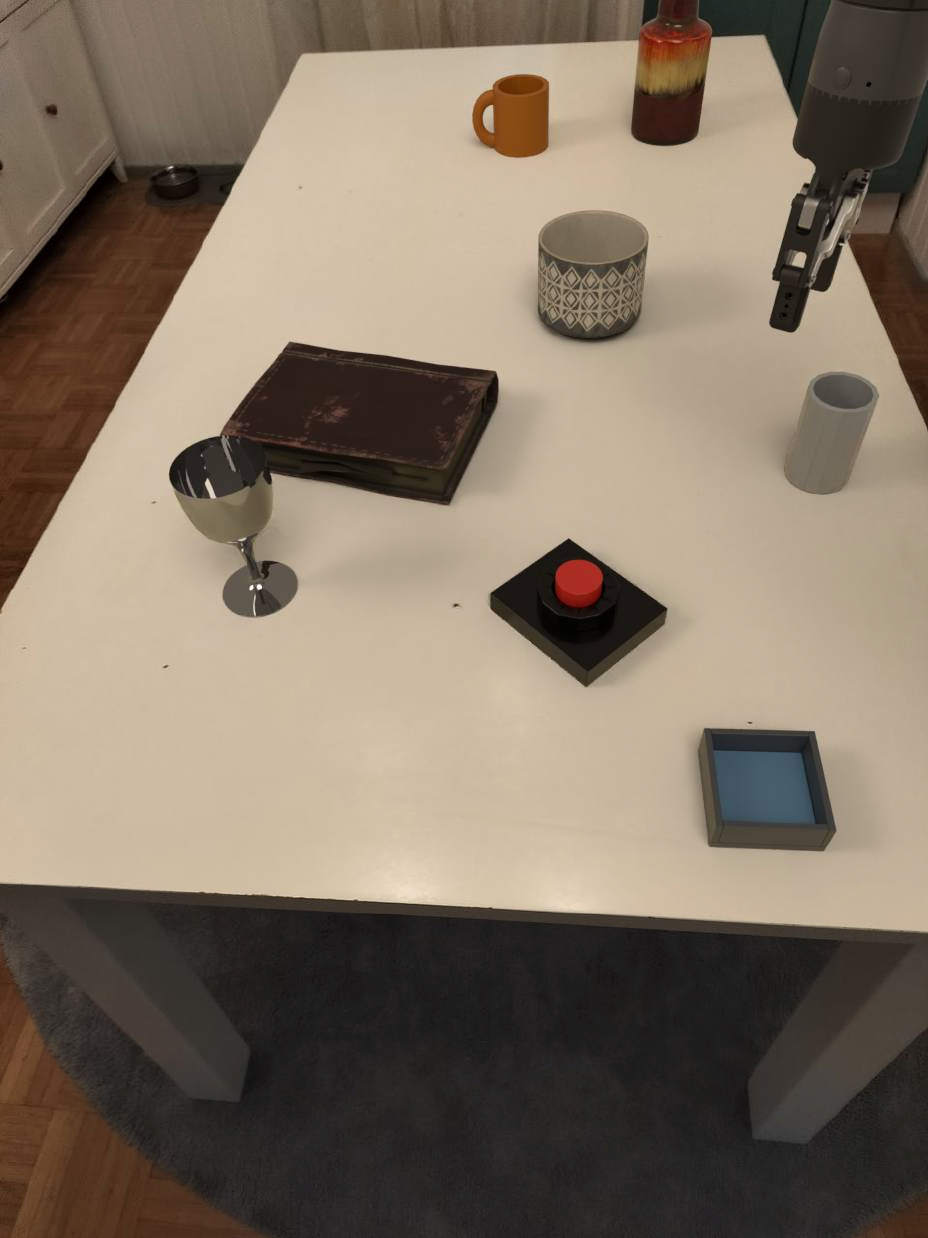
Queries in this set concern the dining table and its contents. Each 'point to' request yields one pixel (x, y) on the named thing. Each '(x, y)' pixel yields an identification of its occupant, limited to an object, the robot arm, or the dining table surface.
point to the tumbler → (830, 431)
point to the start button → (578, 583)
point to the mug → (515, 115)
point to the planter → (591, 273)
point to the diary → (368, 420)
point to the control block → (578, 615)
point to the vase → (671, 74)
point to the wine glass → (234, 516)
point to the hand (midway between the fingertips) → (799, 307)
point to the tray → (764, 790)
